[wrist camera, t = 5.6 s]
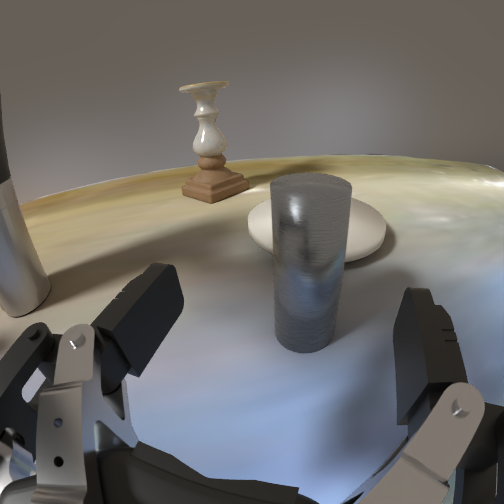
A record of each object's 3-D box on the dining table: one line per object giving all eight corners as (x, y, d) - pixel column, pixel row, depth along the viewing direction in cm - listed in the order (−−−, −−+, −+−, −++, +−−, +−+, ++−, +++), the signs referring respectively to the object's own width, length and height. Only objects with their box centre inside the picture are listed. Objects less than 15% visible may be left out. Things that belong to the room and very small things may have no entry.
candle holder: (211, 204, 55) (197, 82, 42) (181, 194, 61) (167, 90, 49) (250, 188, 61) (242, 80, 49) (218, 181, 68) (208, 85, 55)
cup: (279, 356, 23) (276, 201, 16) (271, 313, 28) (265, 175, 20) (340, 347, 23) (365, 196, 16) (324, 307, 28) (335, 171, 21)
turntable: (254, 272, 31) (253, 260, 31) (245, 205, 48) (244, 196, 48) (409, 254, 32) (412, 244, 31) (353, 197, 49) (354, 189, 48)
